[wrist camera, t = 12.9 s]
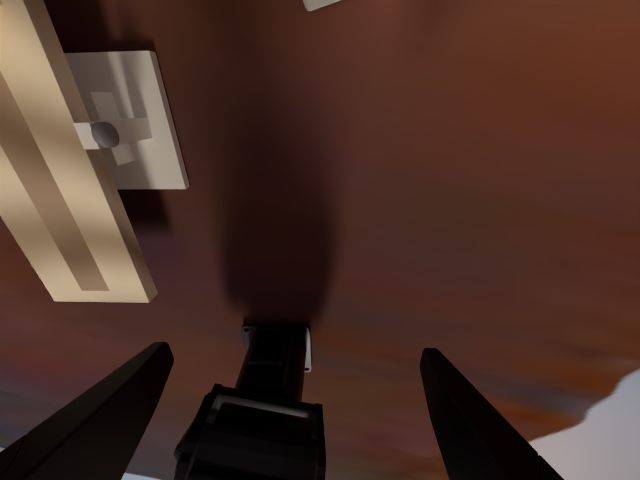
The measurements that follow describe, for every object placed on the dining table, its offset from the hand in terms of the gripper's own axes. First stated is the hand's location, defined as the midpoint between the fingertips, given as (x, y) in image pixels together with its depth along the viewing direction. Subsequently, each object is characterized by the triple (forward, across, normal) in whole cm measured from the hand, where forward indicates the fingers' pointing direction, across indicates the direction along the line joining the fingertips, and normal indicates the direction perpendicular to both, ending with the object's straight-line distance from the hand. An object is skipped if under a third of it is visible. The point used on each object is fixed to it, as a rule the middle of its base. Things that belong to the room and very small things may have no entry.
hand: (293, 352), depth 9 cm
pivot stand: (+12, +15, -6) cm, 20 cm away
